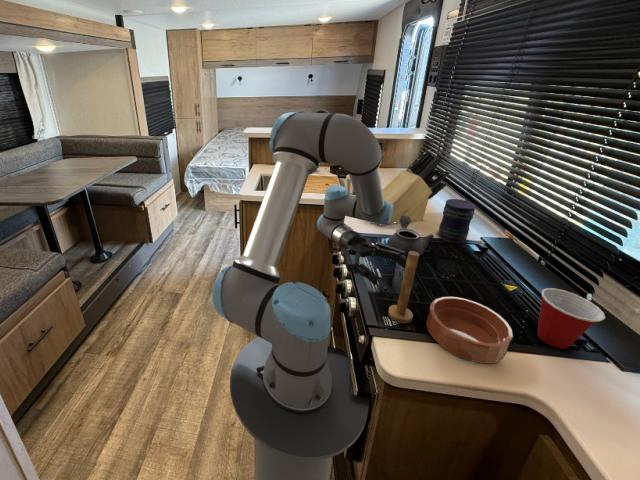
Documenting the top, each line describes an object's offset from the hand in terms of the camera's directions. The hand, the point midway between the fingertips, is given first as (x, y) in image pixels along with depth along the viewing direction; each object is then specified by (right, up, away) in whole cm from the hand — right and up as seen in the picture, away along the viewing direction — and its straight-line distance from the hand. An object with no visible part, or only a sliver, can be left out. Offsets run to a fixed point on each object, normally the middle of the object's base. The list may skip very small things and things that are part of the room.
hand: (396, 275), depth 85 cm
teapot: (+21, +3, +35) cm, 41 cm away
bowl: (+13, -14, -7) cm, 21 cm away
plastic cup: (+35, -14, -8) cm, 39 cm away
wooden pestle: (+1, -11, +1) cm, 11 cm away
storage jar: (+43, +6, +41) cm, 60 cm away
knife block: (+32, +13, +59) cm, 68 cm away
